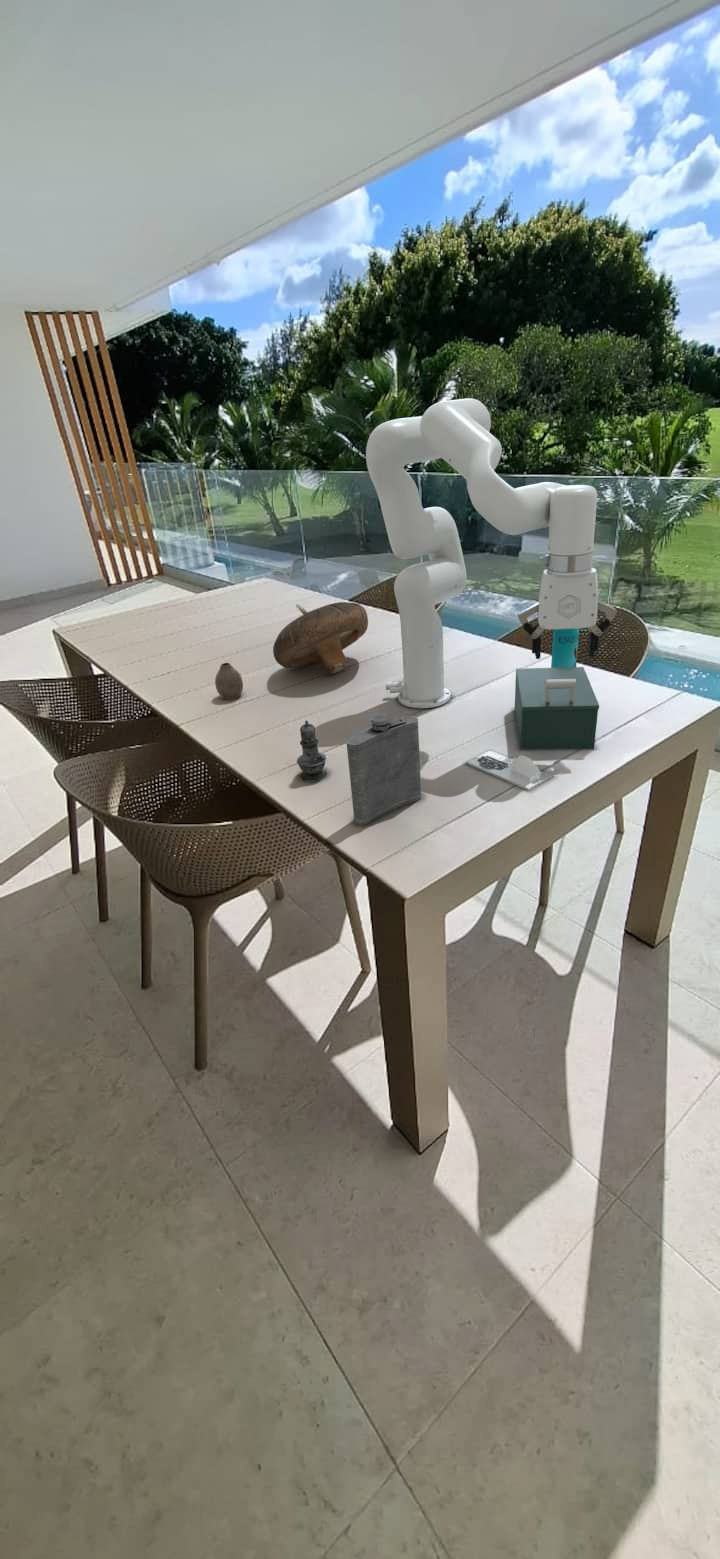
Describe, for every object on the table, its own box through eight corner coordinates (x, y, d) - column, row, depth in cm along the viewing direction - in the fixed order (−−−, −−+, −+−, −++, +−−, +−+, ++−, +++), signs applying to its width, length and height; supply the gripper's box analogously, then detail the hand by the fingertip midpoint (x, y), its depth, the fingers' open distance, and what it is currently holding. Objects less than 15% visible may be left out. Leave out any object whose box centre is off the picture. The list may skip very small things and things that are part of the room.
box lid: (599, 709, 128) (601, 683, 125) (522, 710, 130) (523, 684, 128) (583, 670, 146) (585, 646, 143) (515, 672, 148) (516, 648, 145)
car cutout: (551, 777, 125) (552, 756, 123) (528, 790, 122) (529, 769, 119) (489, 752, 135) (490, 732, 133) (467, 764, 132) (467, 743, 130)
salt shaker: (298, 769, 136) (291, 715, 130) (327, 766, 136) (321, 712, 130) (298, 783, 131) (290, 728, 125) (328, 780, 131) (322, 725, 125)
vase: (250, 692, 174) (244, 660, 170) (235, 703, 169) (228, 670, 165) (228, 690, 177) (222, 658, 173) (212, 700, 172) (206, 668, 167)
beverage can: (575, 688, 159) (580, 627, 152) (550, 688, 161) (554, 627, 153) (573, 679, 164) (578, 619, 157) (549, 679, 165) (553, 620, 158)
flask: (348, 818, 119) (338, 726, 110) (411, 790, 125) (407, 701, 116) (360, 827, 116) (351, 733, 107) (424, 797, 123) (420, 707, 114)
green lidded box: (594, 748, 133) (598, 707, 129) (520, 749, 135) (522, 709, 131) (579, 707, 150) (583, 670, 146) (514, 709, 152) (515, 672, 148)
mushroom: (324, 648, 202) (353, 574, 188) (365, 694, 190) (399, 618, 176) (243, 648, 185) (267, 566, 170) (282, 699, 173) (312, 615, 158)
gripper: (520, 570, 116) (518, 664, 124) (625, 563, 113) (615, 660, 121) (517, 560, 122) (515, 651, 130) (617, 554, 119) (608, 647, 128)
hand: (563, 655), depth 126 cm, fingers open, 9 cm apart
